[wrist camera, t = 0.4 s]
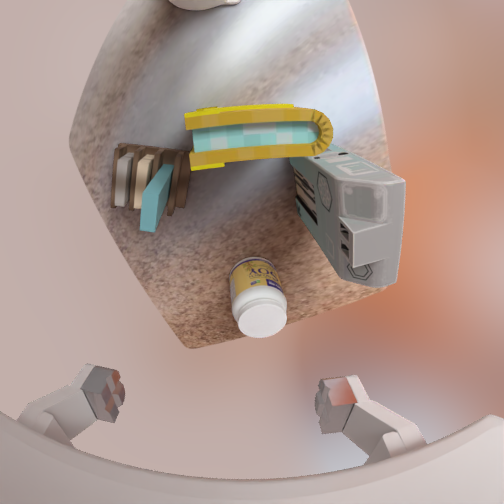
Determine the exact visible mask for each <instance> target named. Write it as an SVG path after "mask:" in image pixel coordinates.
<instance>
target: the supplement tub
mask: <svg viewBox="0 0 504 504" xmlns="http://www.w3.org/2000/svg"><path fill="white" fill-rule="evenodd" d="M229 283H230V294H231V304H232V313H233V316H234V318H235V320H236V321H237V323H238V326H239V329H240V330H241V332H242V333H244V334H245V335H247V336H250V337H254V338H264V337H269V336H271V335H274V334H276V333H277V332H279V331H280V330H281V329H282V328H283V327H284V325H285V324H286V320H287V316H286V309H287V302H286V298H285V295H284V292H283V289H282V286H281V283H280V280H279V277H278V274H277V271H276V269H275V267H274V265H273V264H272V263H271V262H270V261H268V260H267V259H264V258H261V257H249V258H245V259H243V260H241V261H239V262H238V263H237V264H236V265H235V266H234V267H233V268H232V270H231V272H230V276H229Z"/></svg>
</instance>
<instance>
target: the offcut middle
mask: <svg viewBox="0 0 504 504" xmlns="http://www.w3.org/2000/svg"><path fill="white" fill-rule="evenodd" d="M153 162H154V155H148V154H147V155H146V156H145V157H143V158H142V159H141V160H140V161H139V162H138V167H137V176H136V186H135V198H134V208H137V209H141V205H142V194H143V191H144V190H145V189H146V187H147V186H148V184H149V183H150V182H151V177H152V169H153Z"/></svg>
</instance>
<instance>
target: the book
mask: <svg viewBox="0 0 504 504" xmlns="http://www.w3.org/2000/svg"><path fill="white" fill-rule="evenodd" d="M196 111H197V112H196ZM196 111H195V112H188V113H186V114H184V117H185V126H186V130H192V134H193V143H194V146H193V148H192V150H191V152H190V154H189V158H190V165H191V171H194V170H201V169H209V168H217V167H225V165H224V163H225V162H234V161H244V160H255V159H268V158H283V157H303V156H316V155H319V154H321V153H323V152H324V151H325V150H326V149H327V148H328V147H329V146H330V143H331V141H332V138H333V127H332V125H331V122H330V120H329V119H328V118H327V117H326V116H325V115H324V114H323V113H322V112H319V111H317V110H315V109H308V108H299V107H294V106H293V104H262V105H245V106H232V107H222V108H217V107H210V108H202V109H197V110H196Z"/></svg>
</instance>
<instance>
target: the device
mask: <svg viewBox="0 0 504 504" xmlns="http://www.w3.org/2000/svg"><path fill="white" fill-rule="evenodd" d="M289 160H290V164H291V165H292V166H293V171H294V177H295V184H296V190H297V196H296V197H295V198H296V205H297V212H298V215H299V216H300V218H301V219H302V221H303V222H304V224H305V225H306V227H307V228H308V230H309V231H310V233H311V234H312V236H313V237H314V239H315V240H316V242H317V243H318V245H319V246H320V248H321V249H322V251H323V252H324V254H325V255H326V257H327V259H328V260H329V262H330V263H331V265H332V266H333V268H334V270H335V271H336V273H337V274H338V276H339V277H340V278H341V279H343V280H346V281H350V282H354V283H357V284H361V285H365V286H369V287H375V288H378V287H385V286H388V285H391V284H393V283H396V280H397V274H398V267H399V260H400V252H401V244H402V234H403V223H404V209H405V188H406V182H405V180H404V179H402V178H400V177H398V176H397V175H395V174H393V173H391V172H389V171H387V170H386V169H384V168H382V167H380V166H378V165H376V164H374V163H372V162H370V161H368V160H366V159H364V158H362V157H360V156H358V155H356V154H353V153H351V152H349V151H347V150H345V149H343V148H340V147H338V146H336V145H334V144H331V143H330V146H329V147H328V148H327V149H326V150H325V151H324V152H323V153H321V154H319V155H316V156H303V157H289Z"/></svg>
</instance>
